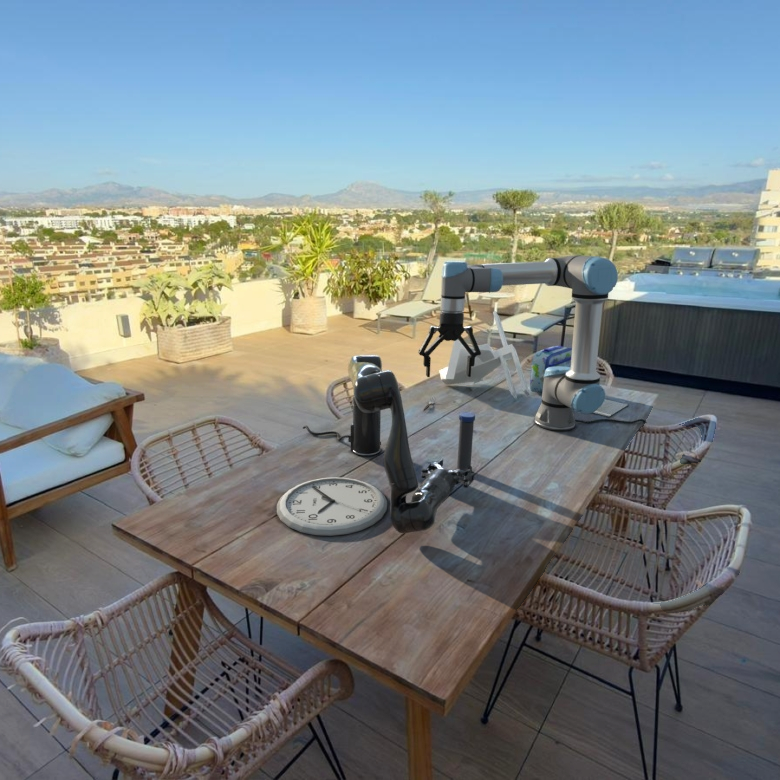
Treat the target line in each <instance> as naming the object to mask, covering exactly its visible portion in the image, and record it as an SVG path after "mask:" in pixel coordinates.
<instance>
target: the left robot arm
mask: <svg viewBox="0 0 780 780" xmlns="http://www.w3.org/2000/svg"><path fill="white" fill-rule="evenodd" d="M382 362H383V361H382V359H381V357H380V356H379V355H377V354H375V355H374V354H371V355H369V354H366V355H364V354H363V355H360V354H359V355H353V356H351V358H350V359H349V362H348V366H347V373H348V378H349V380H350V383H351V385H352V388H353V389H352V390H353V396H352V424H350V426H349V427H350V434H345V435H340V433H339V432H338V431H333V430H332V431H330V430H329V431H323V432H313V431H312V430H311V429H310V427H309V426H308V425H303V426H302V429H304V430H305V429H306V430H307V432H308V433H309V434H310V435H313V436H324V435H336V436H337V437H336V440H337V441H342V440H343V439H348V441H347V442H348V443H350V452H353V453H354V454H355V455H357V456H361V457H371V456H377V455H378V454H379V453H381V446H382V441H381V414H382V413H381V411H383V410H384V411H385V410H387V409H390V412H391V427H390V431H389V435H388V439H387V441H386V445H385V449H384V453H383V468H384V471H385V475H386V479H387V482H388V486H389V497H390V498H389V499H390V502H389V503H390V511H389V512H390V514H389V516H390V522H391V525H392V527H393V528H394V530H396V532H398V533H399V534H410V533H415V532H423V531H427V530H429V529H431V528H432V527H433V526H434V524H435V521H436V515H437V512H438V509H439V507H440V506H441V505H442V504H443V503H444V502H445V501H446V500H447V498H449V496H450V495H451V493H452V492H453V491H454V489H455V487H456V486H457V485H459V484H460V485H463V486H462V487H463V488H465V489H467V488H469V487H470V486H471V484H472V483H473V482H474V480H475V471H473V466H472V464H471V465H470V464H468V465H467V467H466V468H465V469H464V470H461V469H457V468H456V469H453V470H452V469H448V468H443V465H444V458H439V459H437V460H436V461H435V462H433V463H432V462H431V461H427V462H426V463H425V464H424V466H423V467H422V468H421V479H424V480H423V481H422V482H421V484H420V486H419V480H418V476H417V471H416V469H415V465H414V461H413V458H412V454H411V449H410V443H409V436H408V429H407V423H406V416H405V412H404V406H403V405H404V404H403V401H402V395H401V390H400V386H399V382H398V380H397V377H396V375H395V374H394V372H393V371H392V370H390V369H389V370H388V369H387V370H383V363H382ZM463 473H464V474H463ZM412 492H414V493H413V494H412V496H411V499H410V502H407V496H408V494H410V493H412Z"/></svg>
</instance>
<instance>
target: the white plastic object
mask: <svg viewBox="0 0 780 780" xmlns="http://www.w3.org/2000/svg"><path fill="white" fill-rule="evenodd" d="M492 315H493V319H494V321H495V324H496V325H495V326H496V328H497V332H498V335H499V338H500V342H501V345H502V347H500V348H498V349H496V350H495V349H493V348H492V347H491V346H490V344H489V343H488V342H487V343H483V344H479V345H478V344H477V345H478V347H479V349H480V352H481V355H477V356H476V357H475V363H474V366H471V377H468V376H467V375H466V372H467V357H468V356H470V354H469V353H468V351H467V350H466V349H465V347H464V346H463V345H462V344H461V342H460V341H459V340H456V341H453V344H452V349H451V353H450V357H449V362H448V366H446V367H444V368H442V369H440V370H439V371H438V372H439V376H440V381H442V383H443V384H444V385H445V386H449V385H458V384H467V383H468V384H469V383H473V384H477V383H480V382H482V381H484V378H485V377H486V376H487V375H489V374H490V373H492V372H494V371H495V370H496V369H497V368H499V367H500V366H502V370H503V373H504V376H505V380H506V383H507V386H508V390H509V393H510V394H511V395H512V397H513V398H514V399H515V400H517V392H516V391H517V390H516V388H515V385H514V381H513V378H512V375H511V371H510V369H509V365H508V361H510V360H513V363H514V366H515V369H516V372H517V376H518V380H519V382H520V385H521V389H522V391H523V393H524V395H525V396H526V397H528V396H531V395H530V389H529V388H528V387H529V386H528V384H527V381H526V378H525V375H524V371H523V369H522V368H523V367H522V366H521V362H520V359H519V355H518V352H517V349H516V347H515V346H514V345H513V343H511V344H508V341H507V337H506V334H505V331H504V328H503V325H502V321H501V318H500V315H499V314H498V312H497V311H496V310H495V311H492ZM469 347H470V348H471V350H472V351H473V352H474V351H475V350H474V348H473V346H469Z"/></svg>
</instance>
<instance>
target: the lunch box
mask: <svg viewBox="0 0 780 780" xmlns="http://www.w3.org/2000/svg"><path fill="white" fill-rule="evenodd" d="M571 356H572V347H567V346H561V345H553V346H549V347H547V348H543V349H541V350H538V351H537V352H535V353H534V355H533V357H532V359H531V366H530V379H529V391H531V392H532V393H537V394H542V392H543V382H544V374H545V370H546V369H547V368H549V367H557V366H562V367H571Z"/></svg>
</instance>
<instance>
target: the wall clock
mask: <svg viewBox="0 0 780 780" xmlns="http://www.w3.org/2000/svg"><path fill="white" fill-rule="evenodd" d="M387 509H388V500H387V498H386V496H385V494H384V493H383V492H382V491H381V490H380V489H379V488H377V487H376V486H374V485H372V484H371V483H369V482H365V481H362V480H359V479H355V478H349V477H338V476H337V477H335V476H333V477H332V476H331V477H322V478H317V479H312V480H307V481H305V482H302V483H299V484H297V485H295V486H293V487H292V488H290V489H288V490H287V491H286V492H285V493H284V494H283V495H281V496H280V498H279V499H278V502H277V503H276V515H277V517H278V518H279V520H280V521H281V522H282V523H283V524H285V525H286V526H287V527H288V528H290V529H293V530H295V531H297V532H299V533H303V534H308V535H312V536H327V537H328V536H329V537H331V536H332V537H333V536H342V535H350V534H352V533H356V532H361V531H363V530H366V529H368V528H369V527H372V526H373V525H375V524H376V523H378V522H379V521H380V520H381V519H382V518H383V517H384V516H385V514H386V512H387Z"/></svg>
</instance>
